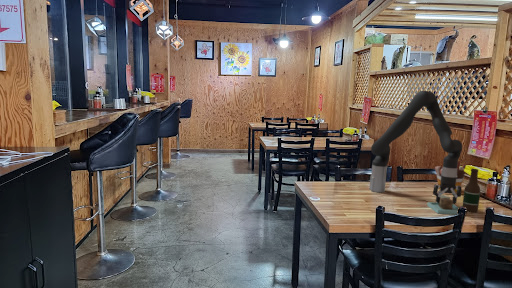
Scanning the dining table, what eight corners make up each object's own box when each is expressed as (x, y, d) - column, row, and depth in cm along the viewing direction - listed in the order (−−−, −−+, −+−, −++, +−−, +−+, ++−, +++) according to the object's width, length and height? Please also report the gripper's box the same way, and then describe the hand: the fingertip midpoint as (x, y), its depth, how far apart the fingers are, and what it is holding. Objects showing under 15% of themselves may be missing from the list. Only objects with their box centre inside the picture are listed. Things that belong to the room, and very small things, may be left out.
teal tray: (437, 213, 190) (438, 210, 189) (427, 205, 203) (427, 202, 203) (464, 214, 189) (464, 211, 188) (451, 206, 202) (452, 203, 202)
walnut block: (442, 209, 194) (443, 200, 193) (438, 206, 198) (439, 197, 198) (452, 209, 193) (453, 200, 192) (447, 206, 198) (448, 198, 197)
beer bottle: (471, 213, 191) (477, 171, 188) (458, 209, 198) (463, 168, 195) (481, 212, 194) (486, 170, 191) (467, 207, 201) (472, 167, 198)
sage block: (441, 206, 203) (442, 197, 202) (435, 203, 208) (436, 195, 207) (449, 205, 204) (450, 197, 204) (442, 203, 209) (443, 195, 208)
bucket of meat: (452, 195, 225) (456, 165, 222) (428, 189, 239) (431, 161, 236) (469, 192, 235) (472, 163, 232) (445, 186, 249) (448, 158, 246)
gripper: (438, 176, 190) (435, 204, 192) (465, 177, 189) (462, 206, 191) (432, 173, 197) (430, 200, 200) (458, 174, 196) (455, 201, 199)
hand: (445, 203), depth 195 cm, fingers open, 8 cm apart
